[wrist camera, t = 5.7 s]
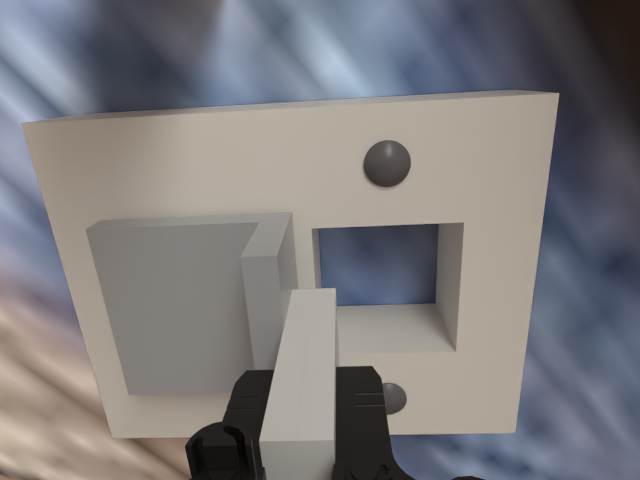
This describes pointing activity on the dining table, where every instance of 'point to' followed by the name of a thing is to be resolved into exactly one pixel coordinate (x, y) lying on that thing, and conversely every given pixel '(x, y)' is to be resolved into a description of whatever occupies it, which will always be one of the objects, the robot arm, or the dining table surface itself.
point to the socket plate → (329, 212)
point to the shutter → (195, 297)
